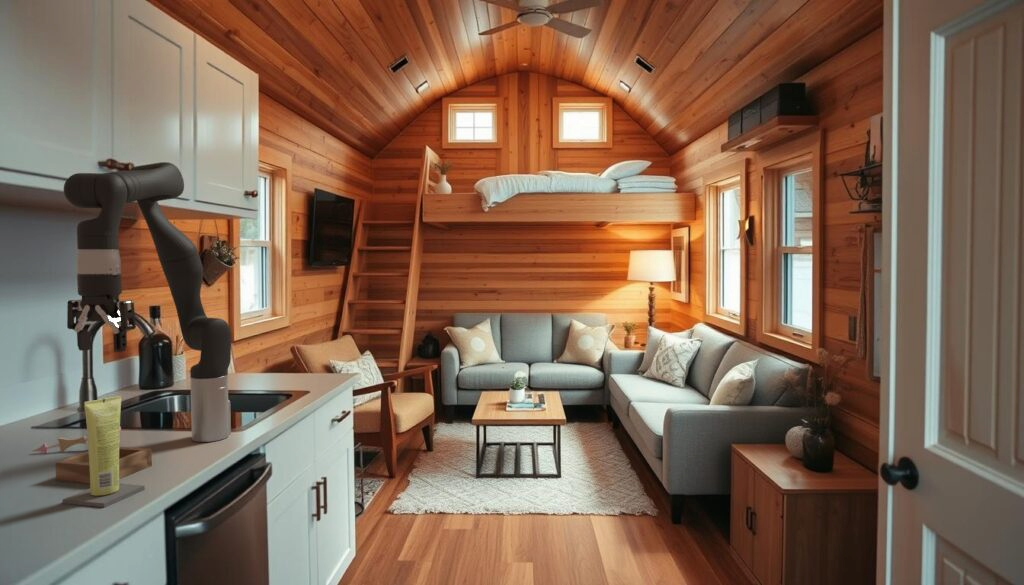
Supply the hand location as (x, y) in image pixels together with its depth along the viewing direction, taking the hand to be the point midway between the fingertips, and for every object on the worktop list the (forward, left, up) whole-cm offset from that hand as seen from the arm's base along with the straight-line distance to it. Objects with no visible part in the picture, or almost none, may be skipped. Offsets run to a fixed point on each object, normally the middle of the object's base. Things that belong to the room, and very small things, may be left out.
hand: (102, 350), depth 126 cm
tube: (+1, 0, -30) cm, 30 cm away
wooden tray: (-11, -12, -30) cm, 34 cm away
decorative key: (-24, -34, -31) cm, 52 cm away
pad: (+1, 0, -30) cm, 30 cm away
